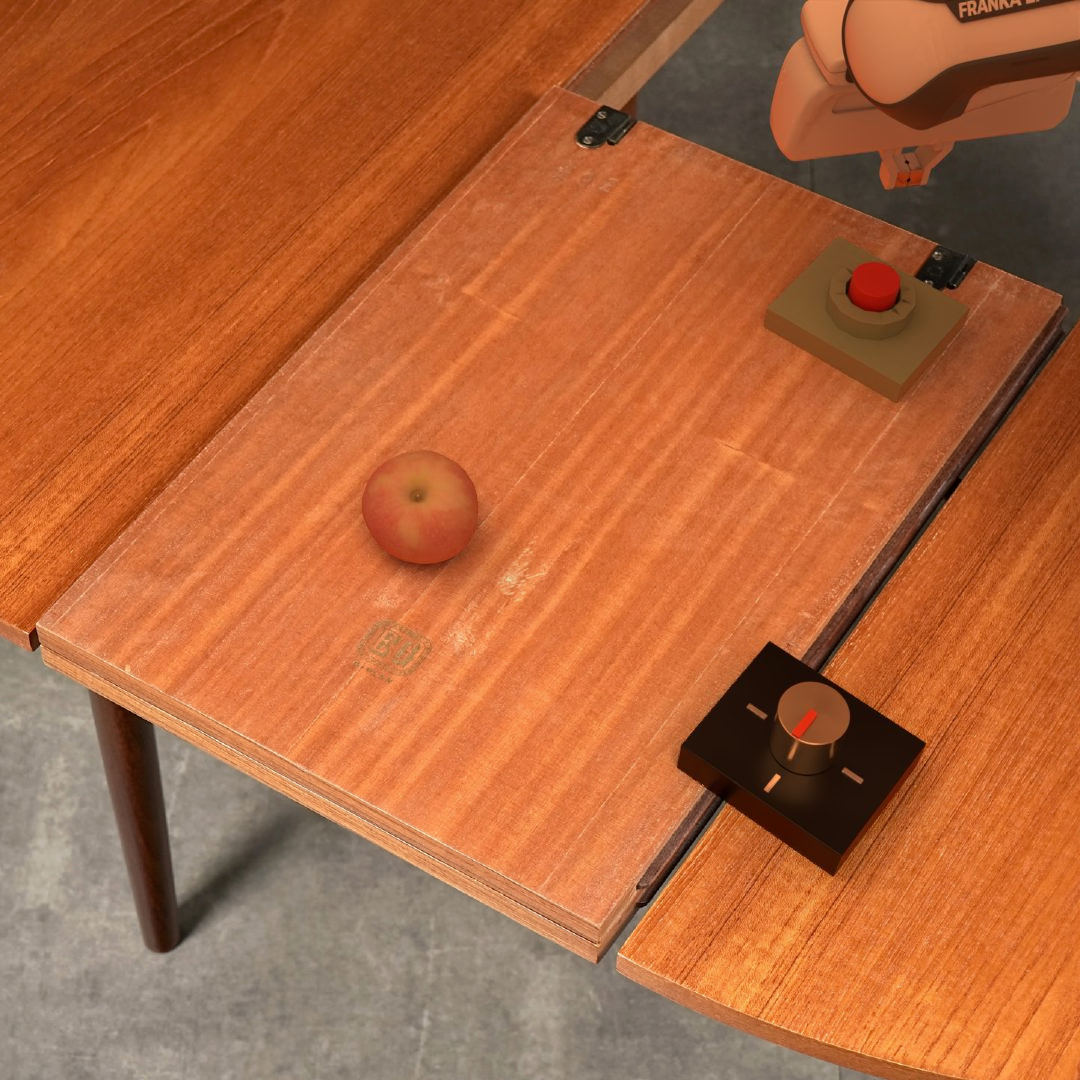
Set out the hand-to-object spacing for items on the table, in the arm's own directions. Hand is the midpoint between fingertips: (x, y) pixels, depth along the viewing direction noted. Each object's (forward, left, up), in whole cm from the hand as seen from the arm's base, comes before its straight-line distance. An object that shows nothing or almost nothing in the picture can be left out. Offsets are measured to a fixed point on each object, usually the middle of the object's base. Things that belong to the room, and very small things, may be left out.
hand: (902, 181), depth 119 cm
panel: (-17, +35, -15) cm, 42 cm away
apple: (+13, +37, -15) cm, 42 cm away
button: (0, 0, -11) cm, 11 cm away
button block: (0, 0, -15) cm, 15 cm away
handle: (-17, +35, -12) cm, 41 cm away
